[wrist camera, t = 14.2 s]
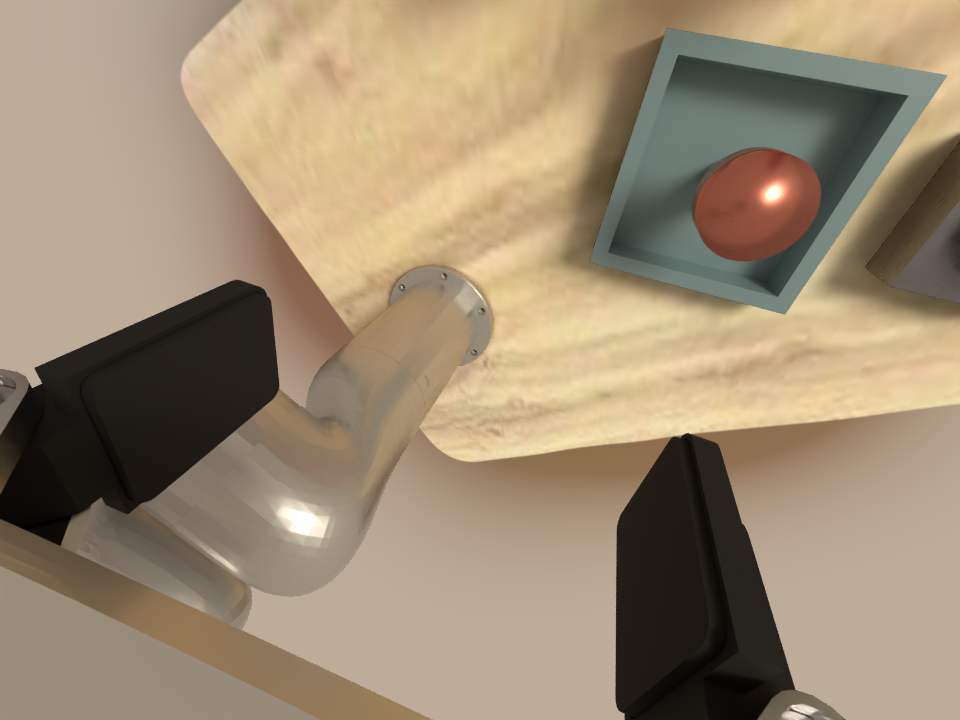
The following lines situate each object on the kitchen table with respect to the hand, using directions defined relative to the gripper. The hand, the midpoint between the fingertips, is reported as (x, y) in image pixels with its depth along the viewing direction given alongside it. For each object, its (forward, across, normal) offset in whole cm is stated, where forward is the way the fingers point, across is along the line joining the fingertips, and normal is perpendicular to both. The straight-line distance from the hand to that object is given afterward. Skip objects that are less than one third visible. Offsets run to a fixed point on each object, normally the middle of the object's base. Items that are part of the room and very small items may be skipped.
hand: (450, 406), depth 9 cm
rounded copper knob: (+32, -11, -3) cm, 34 cm away
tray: (+33, -11, -3) cm, 35 cm away
